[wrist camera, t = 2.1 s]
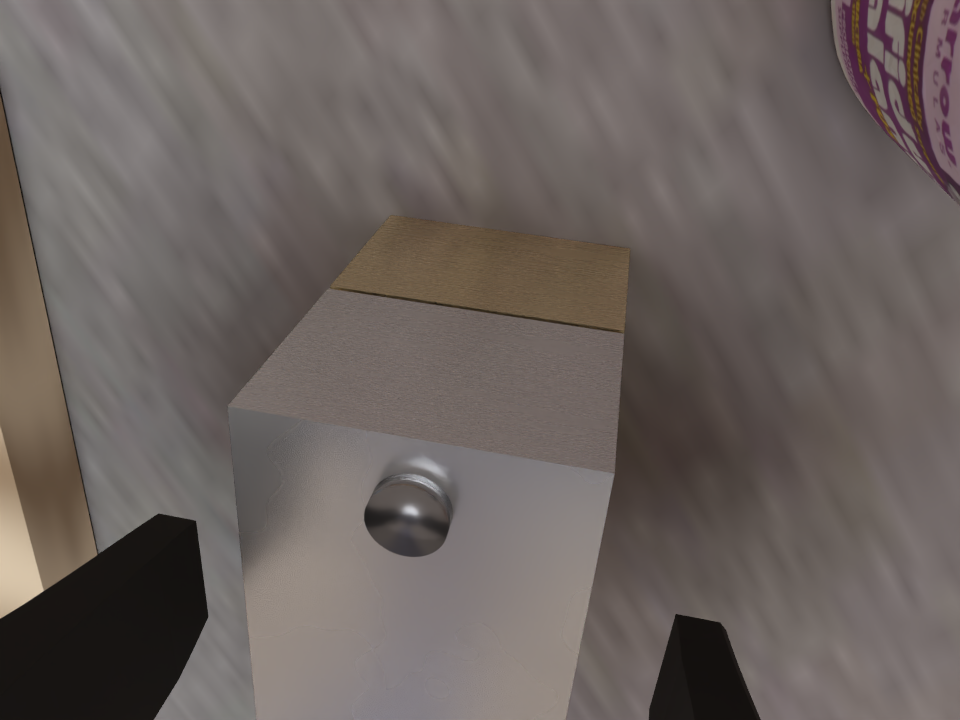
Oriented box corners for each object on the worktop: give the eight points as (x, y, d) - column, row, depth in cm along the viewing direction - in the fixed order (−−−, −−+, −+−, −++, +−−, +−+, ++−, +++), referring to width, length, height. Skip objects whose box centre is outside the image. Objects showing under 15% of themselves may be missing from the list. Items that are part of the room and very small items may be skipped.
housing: (572, 570, 19) (531, 894, 13) (384, 534, 19) (257, 829, 13) (630, 247, 15) (612, 490, 9) (391, 214, 15) (215, 420, 9)
